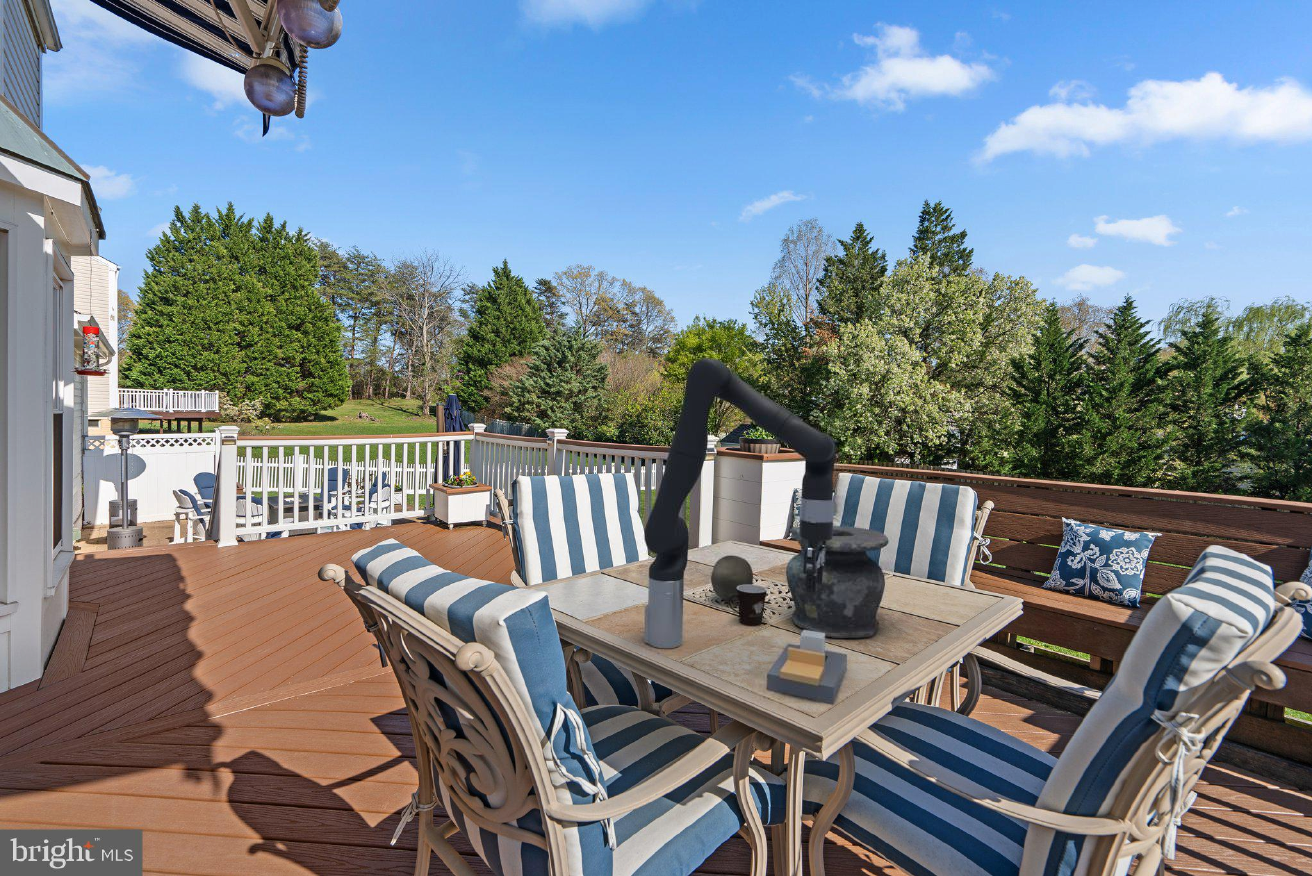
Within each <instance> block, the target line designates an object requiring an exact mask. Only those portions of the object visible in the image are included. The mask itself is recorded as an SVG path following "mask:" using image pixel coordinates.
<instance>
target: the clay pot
mask: <svg viewBox="0 0 1312 876" xmlns="http://www.w3.org/2000/svg"><path fill="white" fill-rule="evenodd" d="M799 527H800V526H793V528H790V530H789V532H790V533H791V534H792V536H793V537H794V538H795V540H796V542H797V543H798V544H799V546H800V549H801V551H800V552H798V553H797V554H796V555H794V556H793V557H792V558H790V560H789V561H788V563H787V565H786V570H785V575H786V582H787V586H788V590H789V592H790V596H791V597H792V601H793V603H794V604H793V605H794V607H795V609H794V611H792V614H791V619H792V621H793V623H794V625H795V626H797V627H799V628H800V629H803V630H808V631H814V632H821V633H825V638H826V637H827V638H833V639H858V638H859V639H860V638H870V637H873V636H874V635H876V633H877V632H878V627H879V625H880V623H879V621H878V620H877V613H878V611H879V608H880V605H881V602H882V600H883V596H884V592H885V587H886V579H885V574H884V571H883V569H882V567H881V566H880V564H878V563H877V562H876V561H875V560H874V559H872V558H871V557H870V556H868V554H867V551H870V552H871V551H876V550H881V549H883V548H884V547H887V545H888V544H889V543H890V542H889V537H887V536H886V534H883V532H880V531H878V530H874V529H868V528H864V527H863V528H861V527H856V526H846V525H845V526H843V525H841V526H840V525H833V538H832V539H831V540H829V541H826V553H825V560H826V562H825V563H824V568H823V581H822V583H821V584H818V583H816V591H815V592H814V593H811V592H807V591H806V590H805V587H806V575H805V574H803V568H804V548H805V547H808V540H807V539H803V538H801V537H800V536H799ZM809 569H812V567H809Z"/></svg>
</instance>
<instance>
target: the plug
mask: <svg viewBox="0 0 1312 876" xmlns="http://www.w3.org/2000/svg"><path fill="white" fill-rule="evenodd" d="M799 641H800V642H799V646H800V649H802V650H807V651H813V652H818V653H823V654H825V649H826V648H825V647H826V637H825V633H821V632H814V631H809V630H807V629H803V630H802V632H801V634H800V638H799Z"/></svg>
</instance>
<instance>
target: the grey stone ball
mask: <svg viewBox="0 0 1312 876" xmlns="http://www.w3.org/2000/svg"><path fill="white" fill-rule="evenodd" d="M710 581H711V583H710V584H711V586H712V589H713V591H714V593H715V594H716V596H717V597H718V598H720V599H721V600H723V601H725V602H728V601H729V598H730V597H731V596H732V595H737V586H740V585H753V583H754V582H753V581H754V572H753V568H752V566H751V564H750V563H749V562H748V561H747V560H746V558H744V557H741V556H737V555H733V554H732V555H730V554H729V555H726V556H722V557H721V558H719V559H718V560H717V561H716V562H715V563H714V565H713V569H712V572H711V576H710ZM734 602H738V598H737V597H733V598H732V599H731V601H730V603H734Z"/></svg>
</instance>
